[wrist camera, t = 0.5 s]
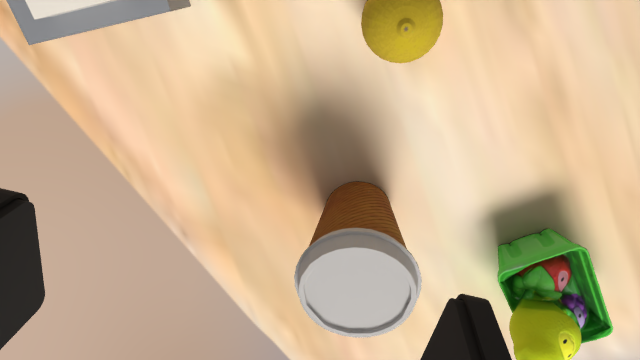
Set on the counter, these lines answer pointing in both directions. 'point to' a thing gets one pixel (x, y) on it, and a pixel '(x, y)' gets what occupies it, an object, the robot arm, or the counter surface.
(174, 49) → the counter surface
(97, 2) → the tile
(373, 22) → the lemon
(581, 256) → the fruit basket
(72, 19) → the grey block
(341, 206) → the disposable coffee cup
